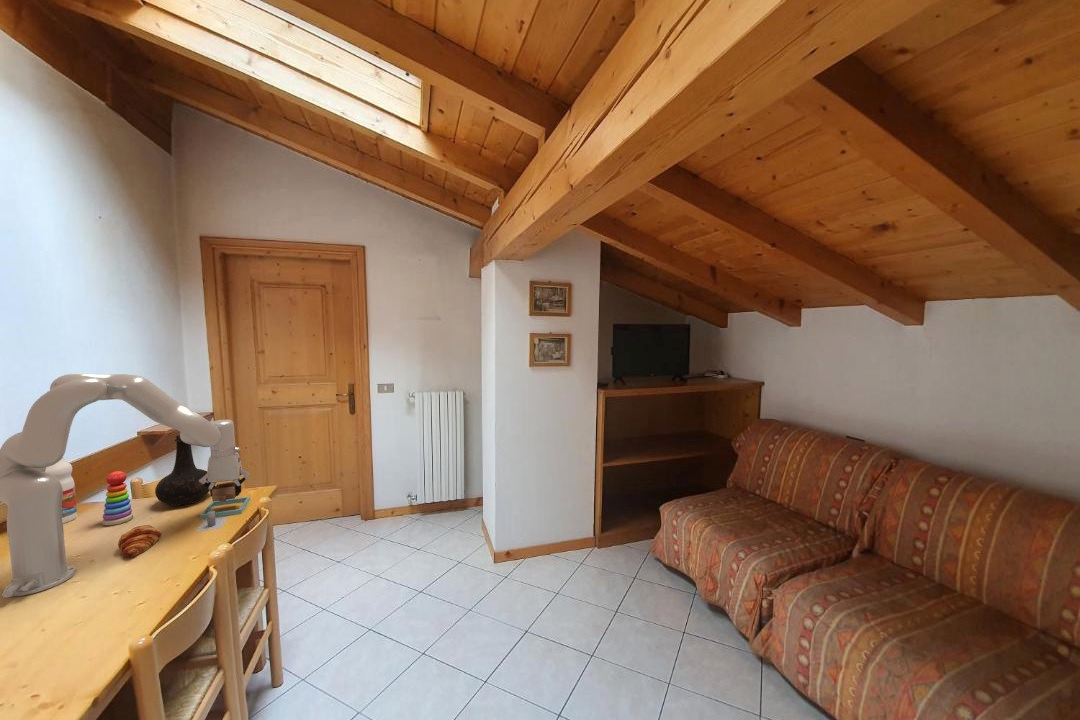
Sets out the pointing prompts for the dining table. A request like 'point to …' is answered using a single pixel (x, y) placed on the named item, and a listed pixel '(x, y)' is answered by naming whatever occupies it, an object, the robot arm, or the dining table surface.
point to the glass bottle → (182, 479)
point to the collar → (224, 492)
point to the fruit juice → (65, 488)
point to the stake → (212, 522)
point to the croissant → (138, 540)
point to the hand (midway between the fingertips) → (226, 495)
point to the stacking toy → (117, 500)
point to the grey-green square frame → (230, 501)
